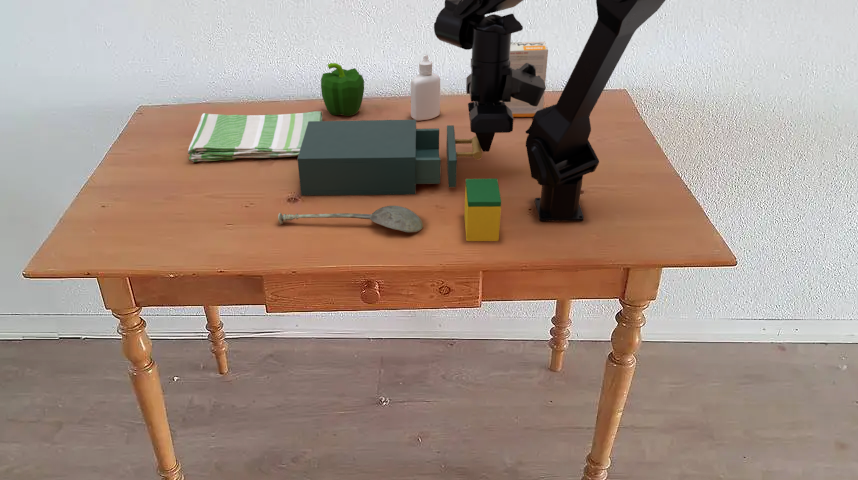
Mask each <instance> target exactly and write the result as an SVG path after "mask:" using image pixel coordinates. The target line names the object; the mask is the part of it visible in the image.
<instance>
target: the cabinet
mask: <svg viewBox="0 0 858 480" xmlns="http://www.w3.org/2000/svg"><path fill="white" fill-rule="evenodd" d="M416 129H417V120H415V119H372V120H371V119H369V120H366V119H365V120H363V119H361V120H322V121H308V125H307V128H306V131H305V135H304V138H303V142H302V145H301V148H300V152H299V155H298V156H297V168H298V177H299V187H300V196H385V195H387V196H388V195H389V196H391V195H392V196H393V195H394V196H397V195H399V196H400V195H401V196H402V195H404V196H405V195H407V196H408V195H416V194H417V184H416Z"/></svg>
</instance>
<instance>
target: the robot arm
mask: <svg viewBox="0 0 858 480" xmlns="http://www.w3.org/2000/svg"><path fill="white" fill-rule="evenodd" d="M523 1H524V0H444V7H443V8H442V9H441V10H440V11H439V12H438V14H437V16H436V19H435V22H434V24H433V32H434V35H435V37H436V38H437V40H439V41H440V42H443V43H446V44H449V45H452V46H455V47H457V48H460V49H463V50H465V51H466V50H467V51H470V50H471V58H470V74H468V75H467V76H466V79H465V80H466V81H465V91H466V95H469V96H470V102H467V109H468V112H469V113H468V118H469V128H470V132H471V133H473V134H475V136H477V139H478V141H479V144H480V146H481V150H482V153H488V152H490V150H491V147H492V144H493V141H494V139H495V135H496V134H504V133H505V134H506V133H508V134H509V133H512V132H513V130H514V117H513V115H512V111H511V110H510V109H509V108H508V107H507V106H506V104H505V102H511V97H512V98H515V99H517V100H520V101H523V102H526V103H529V104H530V105H531V106H538V104H539V102H540V99H541V97H542V95H543V93H544V91H546V89H547V85H546V82H545V83H544V80H543V79H542V78H541V77H540V76H539V75H538V76H536V69H535V66H534V65H532V64H529V63H525V64H524V65H523V66H522V67H521V68H519V69H518V68H517V69H516V70H515V69H512V67H511V68H510V45H511V42H512V34H514V33H518V32H522V31H523V29H524V27H523V25H522V23H521V22H520V21H519V20H518V19H517V18H516V16H515V15H514V13H509V14H504V15H498V14H495V13H496V12H497V13H498V12H501V11H505V10H508V9H512V8H514V7H517V6H518V5H519V4H520V3H522V2H523ZM665 2H666V0H595V3H596V4H595V5H596V13H597V20H596V23H595V24H594V26H593V28H592V31H591V33H590V34H589V37H588V39H587V40H586V43H585V45H584V47H583V48H582V50H581V52H580V55H579V57H578V58H577V61H576V63H575V65H574V66H573V70H572V72H570V76H569V77H568V80H567V81H566V83H565V86H564V87H563V90H562V92H561V94H560V96H559V98H558V99H557V102H556V104H553V105H550V106H547V107H543V109H541V110H538V111H537V112H536V113H535V115H534V117H532V120H531V124H530V126H529V128H527V130H525V134H527V136H526V139H525V147H526V153H527V154H526V155H527V159H528V164H529V171H530V176H531V178H532V179H534V180H535V181H536V182H537V184H538V185H539V186H541V190H540V197H535V198H534V205H535V209H536V212H537V217H538V221H540V222H583V221H584V220H585V215H584V214H583V211H582V210H583V209H582V208H581V204H580V202H581V201H580V200H581V192H582V185H583V178H584V176H585V175H588V174H590V173H594V172H595V171H596V169H597V167H598V166H599V164H600V159H599V158H598V156H597V154H596V152H595V150H594V148H593V146H592V144H591V143H590V140H589V138H590V135H591V132H592V126H591V119H590V116H591V114H592V112H593V110H594V108H595V107H596V104H597V103H598V100H599V99H600V97H601V95H602V93H603V92H604V90H605V88H606V86H607V84H608V82H609V80H610V78H611V76H612V74H613V73H614V71H615V69H616V68H617V66H618V64H619V63H620V60H621V58H622V56H623V54H624V53H625V51H626V49H627V47H628V46H629V44H630V41H631V40H632V37H634V35H635V32H636V31H637V30H638V29H639V28H640V27H642V25H643V24H644V23H645V22H646V21H648V20H649V19H650V18H651V17H652V16H653V15H654V14H656V12H658V11H659V9H660V8H661V7H662V6H663V4H664V3H665ZM493 13H494V14H493ZM486 15H487V16H486ZM544 94H545V93H544ZM500 101H502V102H500Z"/></svg>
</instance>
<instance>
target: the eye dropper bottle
mask: <svg viewBox="0 0 858 480" xmlns="http://www.w3.org/2000/svg"><path fill="white" fill-rule="evenodd" d="M440 114H441V78H440V76H439V75H438V74H436V73H433V62H432V61H431V60H430V59H429V55H428V54H423V58H422V60H421V61H420V62H419V63H418V74H417V75H415V76H414V77H413V78H412V79H411V81H410V117H411V119H412V120H416V122H420V121H428V120H431V119H435V118H436V117H438V116H440Z"/></svg>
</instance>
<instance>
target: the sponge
mask: <svg viewBox="0 0 858 480" xmlns="http://www.w3.org/2000/svg"><path fill="white" fill-rule="evenodd" d="M464 188H465V189H464V190H465V191H464V213H463V214H464V215H463V219H464V227H465V228H464V229H465V239H466V242H499V241H500V227H501V213H502V198H501V197H502V196H501V192H500V186H499V179H498V178H465V187H464Z"/></svg>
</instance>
